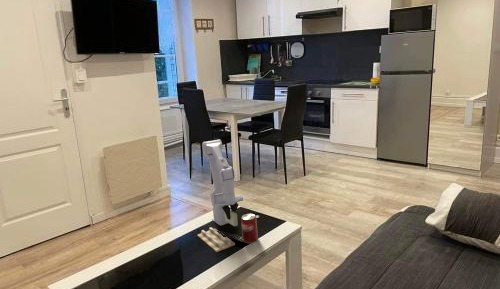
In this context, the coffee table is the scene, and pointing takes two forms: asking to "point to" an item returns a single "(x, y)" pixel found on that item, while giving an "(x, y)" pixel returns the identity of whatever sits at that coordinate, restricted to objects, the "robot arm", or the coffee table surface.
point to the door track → (215, 240)
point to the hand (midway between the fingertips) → (231, 218)
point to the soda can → (249, 228)
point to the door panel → (232, 218)
